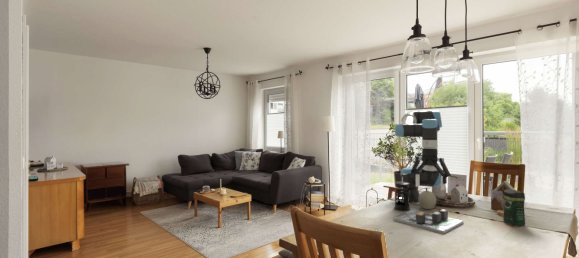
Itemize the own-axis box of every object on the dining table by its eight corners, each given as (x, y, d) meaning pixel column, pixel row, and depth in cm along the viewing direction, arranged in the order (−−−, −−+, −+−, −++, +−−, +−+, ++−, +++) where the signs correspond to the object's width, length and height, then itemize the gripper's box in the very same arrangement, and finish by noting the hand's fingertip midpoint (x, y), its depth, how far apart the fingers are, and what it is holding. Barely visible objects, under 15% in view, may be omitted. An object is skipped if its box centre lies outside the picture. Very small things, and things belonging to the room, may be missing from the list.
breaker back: (442, 216, 172) (442, 208, 172) (447, 217, 169) (447, 209, 169) (438, 218, 169) (438, 210, 169) (444, 219, 167) (444, 211, 167)
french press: (391, 206, 199) (391, 172, 198) (404, 206, 200) (405, 172, 199) (399, 212, 187) (400, 175, 186) (413, 211, 188) (414, 175, 187)
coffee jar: (528, 226, 159) (528, 191, 158) (513, 227, 158) (513, 192, 158) (514, 220, 168) (514, 187, 168) (500, 221, 168) (500, 188, 168)
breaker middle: (435, 219, 167) (435, 211, 167) (441, 220, 164) (441, 212, 164) (432, 221, 164) (432, 213, 164) (437, 222, 162) (437, 214, 161)
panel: (414, 212, 186) (414, 209, 186) (463, 223, 165) (463, 220, 165) (393, 220, 171) (393, 217, 171) (443, 234, 150) (443, 230, 150)
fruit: (422, 205, 202) (422, 183, 201) (439, 209, 192) (439, 186, 192) (413, 208, 196) (413, 185, 195) (430, 212, 186) (430, 188, 186)
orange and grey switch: (420, 220, 166) (419, 212, 165) (425, 221, 163) (425, 213, 163) (415, 221, 163) (415, 213, 163) (421, 223, 160) (421, 215, 160)
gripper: (404, 147, 167) (404, 185, 166) (450, 149, 147) (451, 192, 147) (411, 147, 172) (411, 184, 171) (457, 148, 152) (457, 190, 151)
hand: (429, 188), depth 159 cm, fingers open, 13 cm apart
